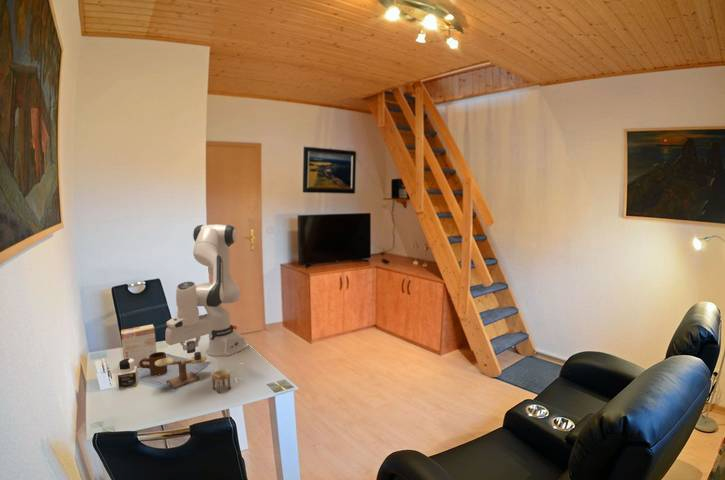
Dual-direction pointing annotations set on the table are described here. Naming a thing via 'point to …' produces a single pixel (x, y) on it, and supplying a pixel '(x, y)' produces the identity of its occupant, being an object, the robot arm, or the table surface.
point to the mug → (152, 359)
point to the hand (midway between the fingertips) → (190, 348)
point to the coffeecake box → (138, 343)
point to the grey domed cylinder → (190, 346)
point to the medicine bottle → (127, 374)
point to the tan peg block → (221, 379)
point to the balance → (182, 370)
